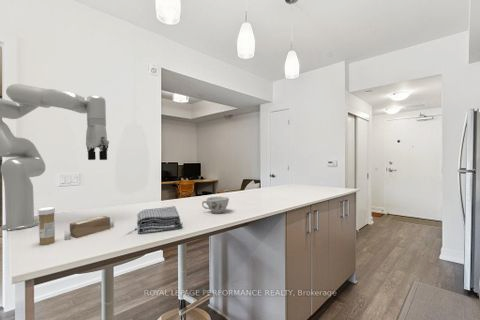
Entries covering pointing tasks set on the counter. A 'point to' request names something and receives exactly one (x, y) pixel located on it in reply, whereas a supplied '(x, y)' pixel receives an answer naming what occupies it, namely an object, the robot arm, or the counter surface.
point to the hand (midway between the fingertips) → (97, 159)
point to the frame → (89, 226)
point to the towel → (158, 220)
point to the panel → (67, 235)
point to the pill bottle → (46, 225)
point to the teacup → (216, 204)
